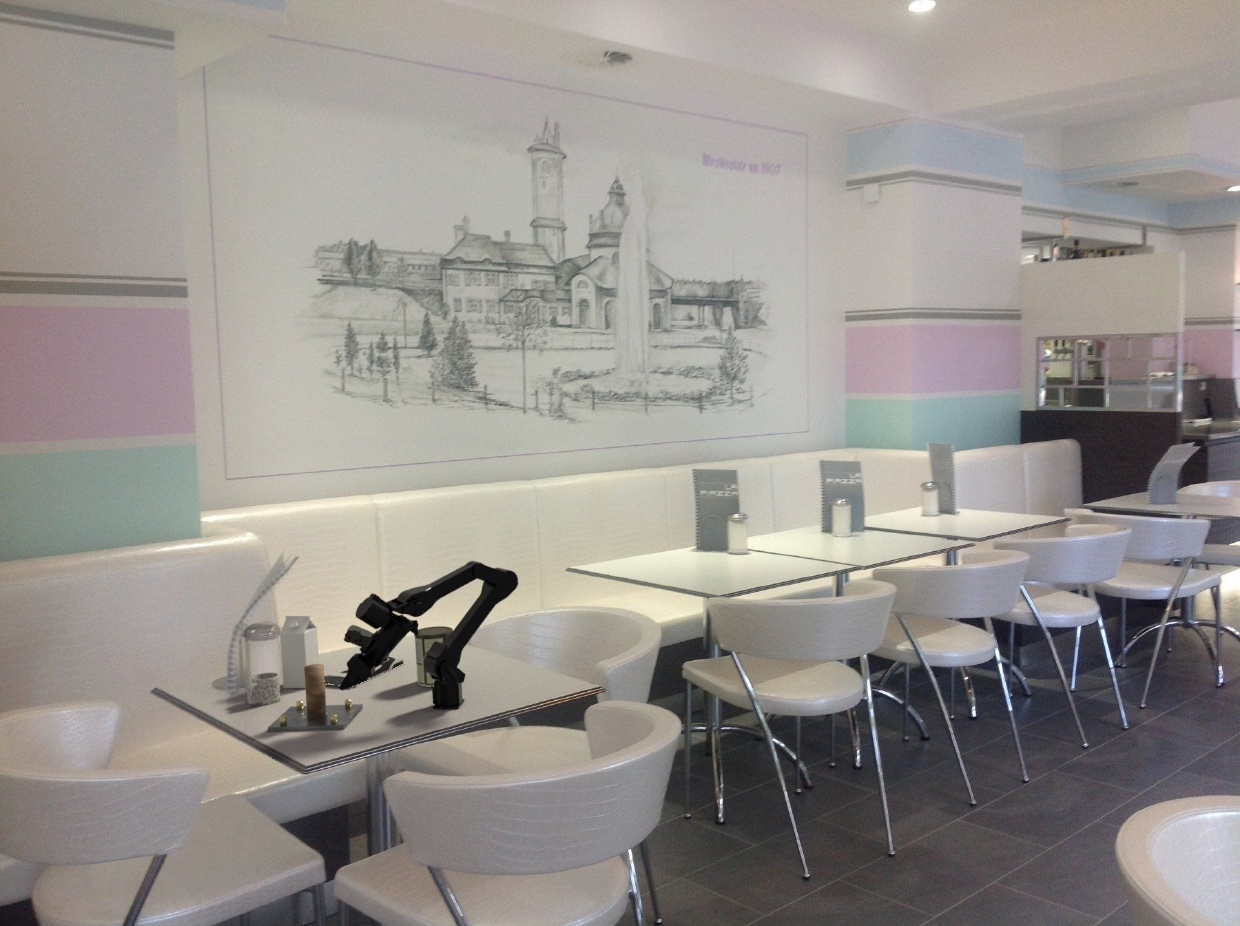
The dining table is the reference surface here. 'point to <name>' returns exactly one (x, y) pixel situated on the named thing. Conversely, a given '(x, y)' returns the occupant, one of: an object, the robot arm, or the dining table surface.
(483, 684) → the dining table surface
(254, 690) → the mug
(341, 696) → the dining table surface
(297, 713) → the base plate
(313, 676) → the walnut column
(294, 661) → the milk carton
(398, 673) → the dining table surface
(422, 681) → the coffee can
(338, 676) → the graphics card
